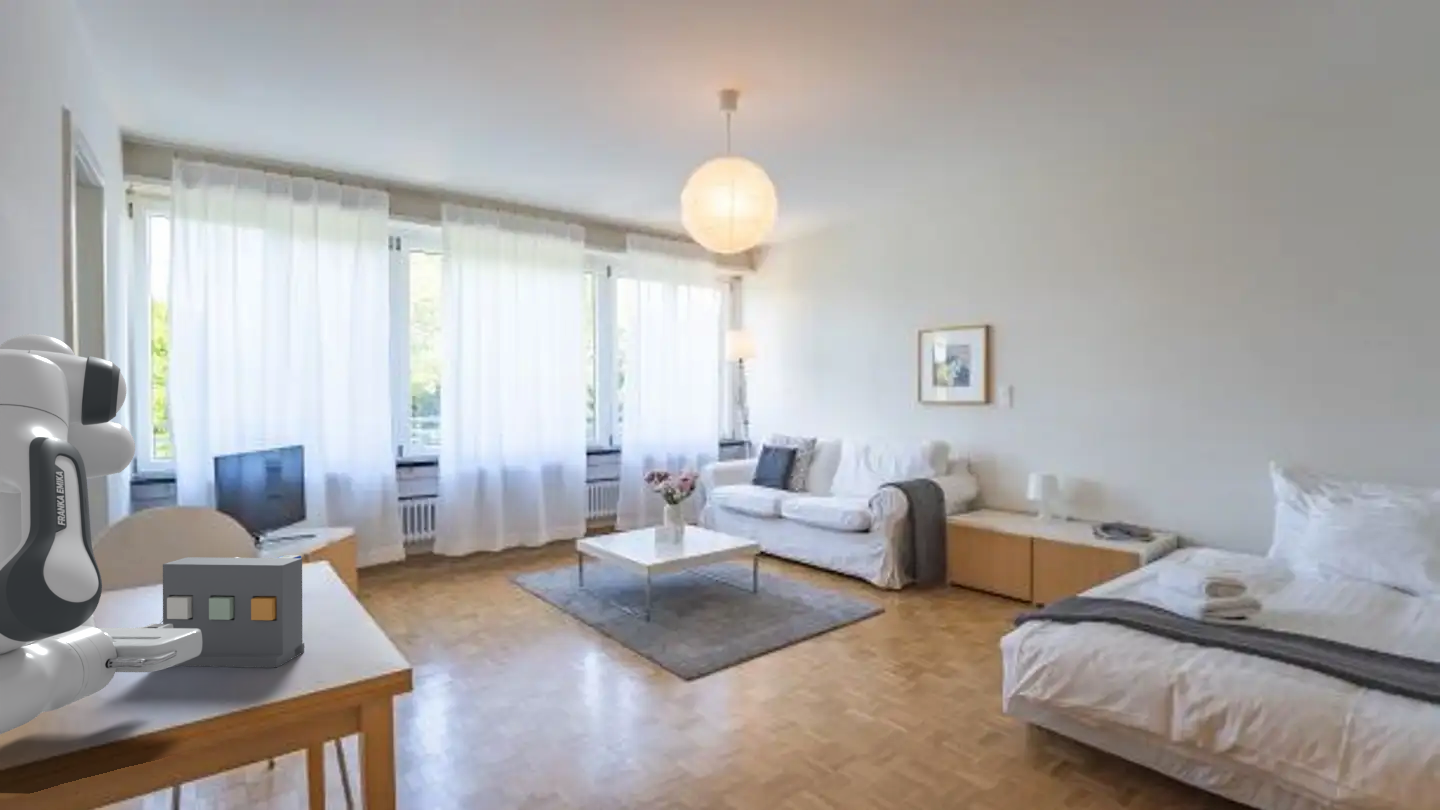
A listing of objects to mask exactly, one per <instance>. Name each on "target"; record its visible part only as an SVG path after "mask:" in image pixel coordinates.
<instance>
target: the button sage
mask: <svg viewBox="0 0 1440 810" xmlns="http://www.w3.org/2000/svg"><path fill="white" fill-rule="evenodd" d="M232 618H235V596H222V595H217V596H214V597H212V598H209V620H230V619H232Z"/></svg>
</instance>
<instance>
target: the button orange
mask: <svg viewBox="0 0 1440 810" xmlns="http://www.w3.org/2000/svg"><path fill="white" fill-rule="evenodd" d="M276 618H277V596H257V597H255V598H252V599H251V620H274V619H276Z"/></svg>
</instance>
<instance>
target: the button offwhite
mask: <svg viewBox="0 0 1440 810" xmlns="http://www.w3.org/2000/svg"><path fill="white" fill-rule="evenodd" d="M192 617H193V595H174V596H171V597H168V598H167V619H189V618H192Z"/></svg>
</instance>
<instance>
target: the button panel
mask: <svg viewBox="0 0 1440 810" xmlns="http://www.w3.org/2000/svg"><path fill="white" fill-rule="evenodd" d="M174 595H193V617H192V618H189V619H167V598H168V597H171V596H174ZM217 595H222V596H235V618H232V619H230V620H209V598H212V597H214V596H217ZM257 596H277V618H276V619H274V620H251V599H252V598H255V597H257ZM162 621H163V622H162V624H173V628H197V629H200V630H201V633H202V651H201V653H200V655H198V656H197V657H195V658H192V659H190V660H187V661H185V662H182V663H179V664H177V665H174V666H173V667H217V668H219V667H221V668H223V667H224V668H225V667H226V668H227V667H228V668H231V667H232V668H233V667H234V668H274V667H277V668H278V667H280V666H282V665H284V664H286V663H287V662H289V661H291V660H292V659H294V658H296V657H298V656H300V655H301V654H302V652H303V653H304V652H305V642H303V558H302V557H301V558H278V557H239V558H235V557H205V556H204V557H203V556H201V557H199V556H196V557H195V556H193V557H192V556H191V557H190V556H189V557H188V556H187V557H183V558H179V559H176V560H173V561H169V562H166V563H163V564H162ZM300 653H301V654H300ZM297 655H298V656H297ZM295 656H296V657H295ZM293 657H294V658H293ZM291 658H292V659H291ZM290 659H291V660H290ZM288 660H289V661H288ZM286 661H287V662H286ZM283 663H284V664H283ZM281 664H282V665H281ZM279 665H280V666H279Z"/></svg>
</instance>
